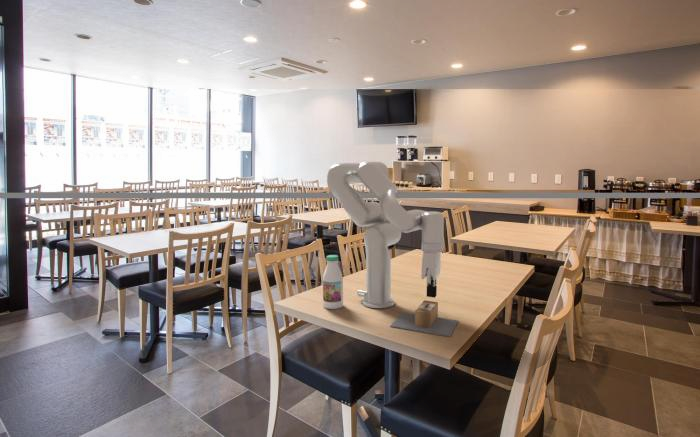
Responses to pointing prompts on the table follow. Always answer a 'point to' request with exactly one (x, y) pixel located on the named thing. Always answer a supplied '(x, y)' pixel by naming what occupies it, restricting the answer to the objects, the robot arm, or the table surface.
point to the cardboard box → (426, 313)
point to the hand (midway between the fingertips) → (431, 296)
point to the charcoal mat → (437, 328)
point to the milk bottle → (332, 284)
